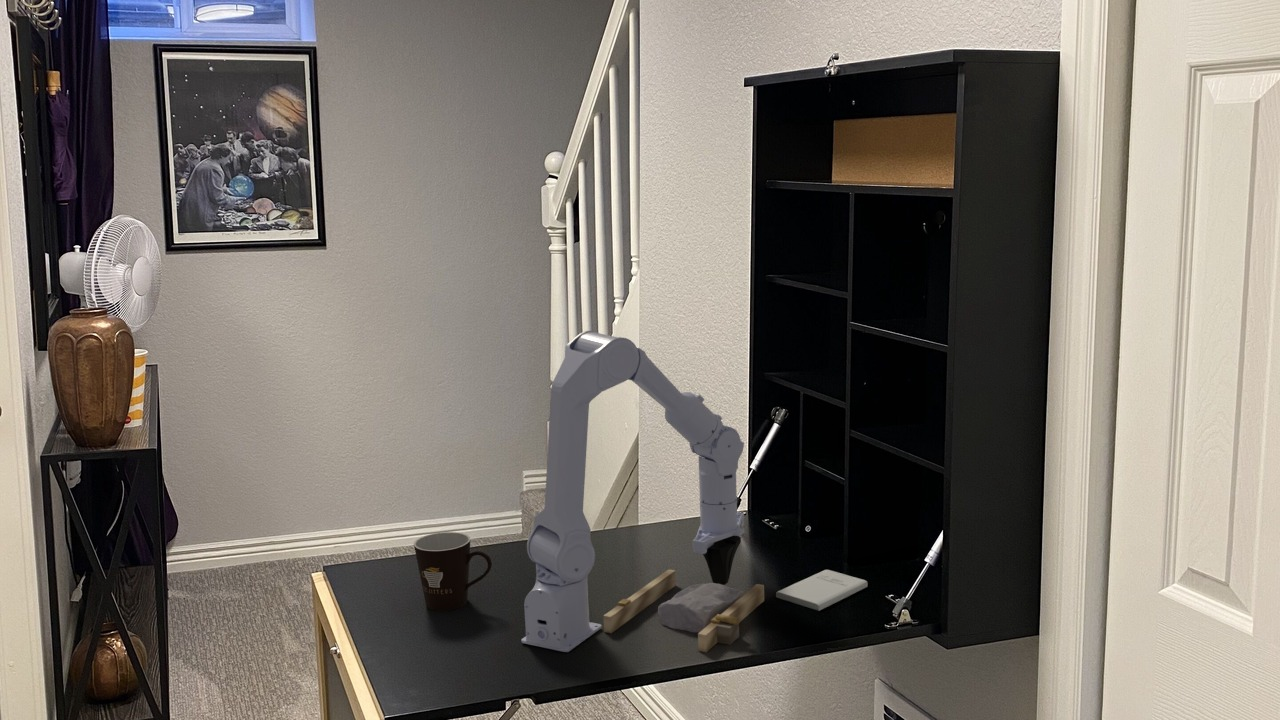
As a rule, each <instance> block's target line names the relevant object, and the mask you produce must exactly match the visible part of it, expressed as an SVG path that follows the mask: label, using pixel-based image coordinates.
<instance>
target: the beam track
mask: <svg viewBox="0 0 1280 720" xmlns="http://www.w3.org/2000/svg"><path fill="white" fill-rule="evenodd" d="M676 582H677V579H676V570H674V569H667V570H665V571H664V572H662V573H661V574H660V575H658V576H657V577H655V578H654V579H653V580H651V581H649V583H647V584H646V585H644V586H643V587H642V588H640V589H639V590H637V591H636V592H635V593H633V594H632V595H631V596H629V597H628V598H622V599H621V600H619V601H618V602H617V605H616V606H615V607H613V608H611V610H609V611H608V612H606V613H604V615H603V631H604V633H608V634H613V633H614V632H615V631H616V630H618V629H619V628H620V627H622V626H623V625H624V624H626V623H627V622H629V621H630V620H631V619H633V618H634V617H636V616H637V615H639V613H641V612H642V611H644V610H645V609H646V608H647V607H648V606H650V605H652V604H654V603H655V602H656V601H657V600H659V599H660V598H661V597H662V596H664V595H665V594H666V593H668V592H669V591H670V590H671V589H673V588H675V587H676V585H677V583H676ZM764 602H765V585H764V584H760V583H756V584H754V586H752V587H751V588H750V589H749V590H747V592H744V595H743V596H742V597H741V598H739V599H738V600H737V601H736V602H735V603H734V604H732V605H731V606H730V607H729V608H728V609H726V610H725V611H724V612H723V613H722V614H721V615H720V614H717V616H715V617H714V618H712V619H711V623H710V624H709V625H708V626H706V627H705V628H704V629H703V630H702V631H701V632H699V633H697V644H698V645H697V649H698V651H699V652H701V653H702V652H703V653H708V652H709V650H711V649H712V648H713V647H714V646H715V645H716V644H722V645H729V646H730V645H732V644H733V643H734V642H735V641H736V640H737V639H739V637H740V623H741V622H742V621H743V620H744V619H745V618H746V617H748V616H749V614H751V613H752V612H753V611H754V610H756V609H757V608H758V607H759V606H760V605H761V604H762V603H764Z"/></svg>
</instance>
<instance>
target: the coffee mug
mask: <svg viewBox="0 0 1280 720" xmlns="http://www.w3.org/2000/svg"><path fill="white" fill-rule="evenodd" d="M413 548H414V553H415V558H416V563H417V567H418V572H419V577H420V582H421V587H422V592H423V596H424V602H425V606H426V608H427V609H429V610H433V611H441V612H444V611H445V612H446V611H452V610H456V609H459V608H461V607H463V606H464V605H466V604H467V603H468V595H469V593H468V592H469V588H470V587H471V586H473V585H475V584H477V583H478V582H480V581H481V580H483V579H484V578H485V577H486V576H487V575H488V574H489V573H490V571H491V569H492V566H493V565H492V559H491V557H490V556H489V555H488V554H487V552H483V551H481V550H475V551H472V552H471V537H470V536H469V535H468V534H466V533H463V532H456V531H455V532H453V531H446V532H445V531H444V532H442V531H441V532H435V533H430V534H427V535H424V536H420V537H419V538H417V539H416V540H415V541H414V542H413ZM475 556H481V557H483V558H484V559H485V560H486V563H487V568H486V570H485V571H484V572H483V574H482V575H480V576H478V577H477V578H475V579H474V580H472V581H470V582H469V576H470V575H469V574H470V573H469V571H470V561H471V559H472V558H473V557H475Z"/></svg>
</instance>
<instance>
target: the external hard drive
mask: <svg viewBox="0 0 1280 720" xmlns="http://www.w3.org/2000/svg"><path fill="white" fill-rule="evenodd" d="M866 588H868V581H867V580H865V579H862V578H858V577H856V576H855V577H854V576H851V575H848V574H845V573H840V572H838V571H834V570H830V569H824V570H822V571H820V572H818V573H815V574H813V575H811V576H809V577H807V578H804V579H802V580H800V581H797V582H795V583H793V584H791V585H789V586H787V587H784V588H782V589H780V590H778V591H776V592H775V597H776V598H778V599H781V600H784V601H787V602H791V603H793V604H796V605H800V606H802V607H807V608H809V609H812V610H815V611H818V612H820V611H821V610H824V609H826V608H827V607H828V608H829V607H830V606H832V605H833V604H835V603H838V602H840V601H842V600H843V599H847V598H848V597H850V596H851V595H854V594H856V593H857V592H860V591H862V590H864V589H866Z"/></svg>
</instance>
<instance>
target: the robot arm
mask: <svg viewBox="0 0 1280 720" xmlns="http://www.w3.org/2000/svg"><path fill="white" fill-rule="evenodd" d="M564 350H565V351H564V359H563V360H562V363H561V365H560V367H559V369H558V370H557V372H556V375H555V377H554V378H553V381H552V384H551V388H550V398H549V399H550V400H549V401H550V402H549V416H548V417H549V418H548V419H549V421H548V438H547V439H548V440H547V441H548V442H547V459H546V476H545V478H546V479H545V495H544V508H543V509H542V510H541V511H540V512H538V513H537V514H536V515H535V516H534V517H533V526H532V531H531V532H530V534H529V536H528V539H527V543H526V552H527V555H528V557H529V559H530V560H531V561H532V562H533V563H535V573H536V577H535V584H534V586H533V587H532V589H531V590H530V591H529V592H528V593H527V595H526V597H525V598H524V603H523V606H524V608H523V609H524V622H525V625H524V626H525V636H524V637H523V638H521V641H520V642H521V643H522V644H526V645H530V646H534V647H540V648H544V649H548V650H553V651H558V652H563V653H569V652H570V651H572V650H573V649H574V648H577V646H579V645H580V644H582V642H584V641H586V639H588V638H590V637H591V636H592V635H594V634H595V633H597V632H598V631H599V630H601V629H602V626H603V625H602V624H601V623H596V622H590V609H589V606H590V605H589V588H588V579H589V577H588V576H589V574H590V573H591V571H592V570H593V568H594V565H595V561H596V552H595V549H594V548H595V547H594V546H593V544H592V539H591V533H592V531H591V527H590V525H589V523H588V520H587V518H586V516H585V514H584V499H585V498H584V497H585V484H586V483H585V481H586V466H587V465H586V463H587V449H588V447H587V446H588V429H589V412H590V410H589V409H590V403H591V402H592V401H593V400H594V399H595V398H596V397H598V396H599V395H600V394H601V393H602V392H605V391H607V390H609V389H611V388H614V387H616V386H618V385H621V384H622V383H624V382H626V381H628V380H629V381H632V382H633V383H634V384H635V385H636V386H637V387H639V388H640V389H641V390H642V391H643V392H645V393H646V394H647V395H649V397H650V398H651V399H653V400H654V401H655V402H656V403H658V404H659V405H660V406H661V407H662V408H664V419H665V421H666V422H667V423H668V424H669V425H670V426H671V427H672V428H674V430H676V432H677V433H679V435H681V436H682V437H683V438H684V439H685V440H686V441H687V442H689V447H690V451H691V453H693V454H695V455H697V456H698V479H699V480H698V482H699V484H698V485H699V514H700V515H699V517H700V520H699V521H700V525H699V527H698V530H697V533H696V535H695V537H694V538H693V540H692V553H694V554H695V553H696V554H701V555H703V557H704V560H705V561H706V564H707V566H708V571H709V574H710V578H711V581H712V583H716V584H721V585H727V584H728V583H729V580H730V576H731V572H732V565H733V561H734V559H735V555H736V552H737V550H738V548H739V546H740V544H741V543H742V542H741V541H742V537H741V536H742V535H743V534H744V533H745V528H744V526H745V514H744V513H740V512H738V502H737V499H738V497H737V470H738V469H739V460H740V458H741V456H742V453H743V451H744V447H745V442H744V441H742V439H741V437H740V433H739V432H738V431H737V429H735V428H734V427H731V426H728V425H725V424H724V423H723V421H722V420H723V418H722V416H721V415H720V414H718V413H714V412H712V411H711V409H709V408H708V406H706V404H704V402H705V398H704V397H703V396H702V395H701V394H699V393H695V392H694V393H692V392H689V391H686V392H685V391H684V392H681V391H679V389H678V388H677V387H676V385H674V384H673V383H672V381H670V380H669V378H668V377H667V376H666V375H665V374H664V373H663V372H662V371H661V370H660V368H658V367H657V365H655V364H654V362H653V361H652V360H651V359H650V358H649V357H648V355H647V353H646V351H645V350H643V349H642V348H639V347H638V346H636V344H635V343H634V342H633V341H632V340H630V339H629V338H627V337H621V336H619V337H617V336H612V335H609V334H605V333H599V332H598V331H595V330H585V331H583V332H580V333H579V334H578V335H577V336H575V337H574V338H573V339H571V341H569V342H568V343H566V345H565V347H564Z"/></svg>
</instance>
